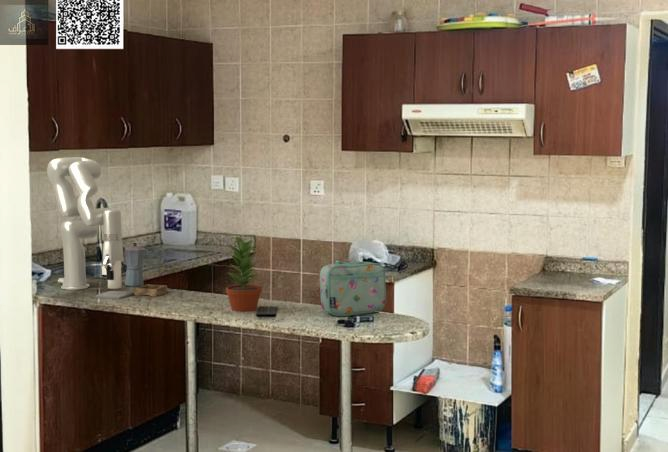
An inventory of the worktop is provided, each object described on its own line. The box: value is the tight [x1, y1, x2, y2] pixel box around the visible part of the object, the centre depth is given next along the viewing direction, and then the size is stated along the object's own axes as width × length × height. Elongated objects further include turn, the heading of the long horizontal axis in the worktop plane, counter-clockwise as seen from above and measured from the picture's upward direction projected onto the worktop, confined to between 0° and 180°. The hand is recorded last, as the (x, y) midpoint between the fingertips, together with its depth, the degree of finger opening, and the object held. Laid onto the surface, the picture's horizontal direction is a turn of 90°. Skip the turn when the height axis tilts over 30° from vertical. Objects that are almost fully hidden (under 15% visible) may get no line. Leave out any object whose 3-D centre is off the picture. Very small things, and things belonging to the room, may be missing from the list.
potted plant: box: [225, 235, 263, 312], centre depth 403 cm, size 15×15×30 cm
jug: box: [101, 260, 123, 290], centre depth 436 cm, size 9×6×12 cm
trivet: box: [94, 290, 135, 300], centre depth 436 cm, size 12×12×1 cm
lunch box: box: [319, 260, 387, 317], centre depth 394 cm, size 27×10×21 cm, turn 114°
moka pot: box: [122, 242, 148, 288], centre depth 462 cm, size 10×15×20 cm, turn 78°
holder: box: [134, 284, 168, 297], centre depth 440 cm, size 10×10×3 cm
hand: (114, 278), depth 435 cm, fingers closed on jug, 6 cm apart
